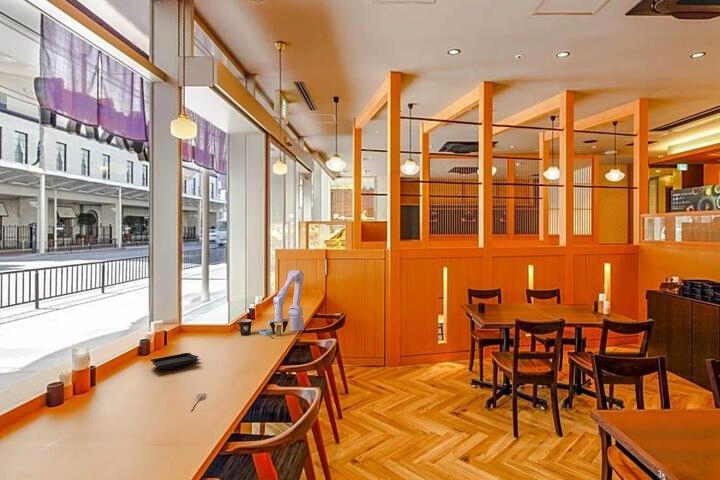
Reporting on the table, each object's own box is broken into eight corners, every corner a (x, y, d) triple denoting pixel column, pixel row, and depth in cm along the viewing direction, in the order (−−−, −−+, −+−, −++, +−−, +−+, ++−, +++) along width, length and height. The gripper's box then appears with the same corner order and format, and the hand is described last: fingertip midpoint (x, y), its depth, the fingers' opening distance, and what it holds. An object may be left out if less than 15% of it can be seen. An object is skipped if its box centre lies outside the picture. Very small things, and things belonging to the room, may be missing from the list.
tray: (171, 357, 243) (170, 348, 243) (209, 358, 241) (209, 349, 241) (139, 375, 213) (139, 365, 213) (183, 376, 211) (183, 366, 211)
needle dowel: (280, 334, 294) (280, 324, 294) (281, 335, 291) (281, 325, 291) (275, 335, 293) (275, 325, 292) (277, 336, 290) (277, 326, 290)
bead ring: (271, 331, 304) (271, 328, 304) (275, 334, 295) (275, 331, 295) (257, 333, 299) (257, 329, 299) (261, 336, 290) (261, 332, 290)
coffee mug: (253, 333, 298) (253, 319, 297) (249, 336, 289) (249, 322, 289) (237, 332, 299) (237, 319, 299) (233, 336, 290) (233, 321, 290)
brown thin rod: (268, 335, 292) (268, 334, 292) (269, 335, 292) (269, 334, 292) (272, 339, 283) (272, 337, 283) (274, 338, 283) (274, 337, 283)
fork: (184, 419, 170) (183, 413, 169) (201, 393, 190) (201, 388, 190) (191, 419, 170) (190, 413, 169) (207, 393, 190) (207, 388, 190)
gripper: (286, 311, 299) (286, 330, 299) (266, 313, 291) (266, 332, 292) (290, 313, 293) (290, 332, 293) (270, 315, 285) (270, 335, 286)
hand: (278, 332), depth 292 cm, fingers open, 7 cm apart
